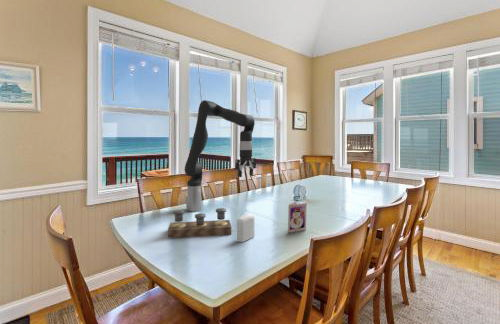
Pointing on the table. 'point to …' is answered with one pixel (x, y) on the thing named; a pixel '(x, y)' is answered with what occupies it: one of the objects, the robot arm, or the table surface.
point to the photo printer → (245, 227)
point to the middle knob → (200, 219)
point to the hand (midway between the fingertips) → (245, 176)
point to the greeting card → (297, 217)
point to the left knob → (178, 215)
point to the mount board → (199, 229)
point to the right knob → (221, 213)
